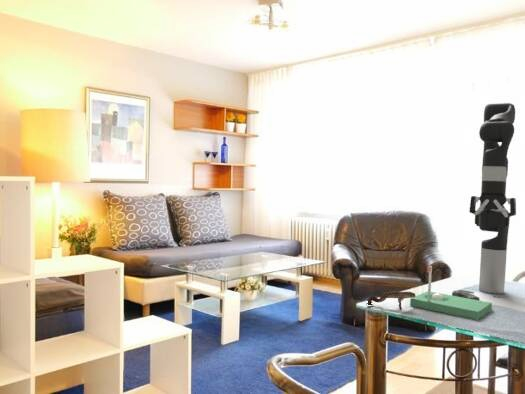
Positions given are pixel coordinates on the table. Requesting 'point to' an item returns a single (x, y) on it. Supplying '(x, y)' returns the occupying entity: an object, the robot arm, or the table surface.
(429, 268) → the pin
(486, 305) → the green
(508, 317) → the table surface
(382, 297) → the toy
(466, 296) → the rock
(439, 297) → the ball
